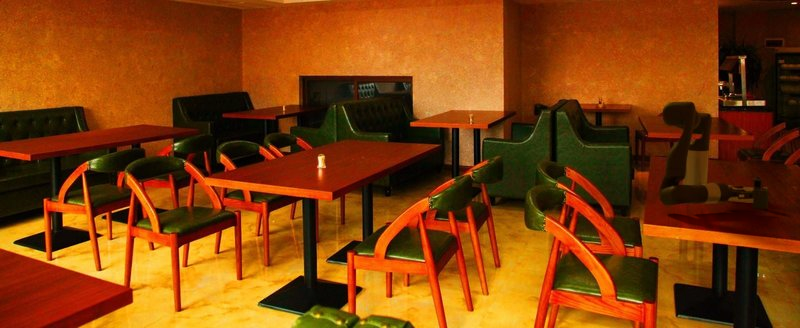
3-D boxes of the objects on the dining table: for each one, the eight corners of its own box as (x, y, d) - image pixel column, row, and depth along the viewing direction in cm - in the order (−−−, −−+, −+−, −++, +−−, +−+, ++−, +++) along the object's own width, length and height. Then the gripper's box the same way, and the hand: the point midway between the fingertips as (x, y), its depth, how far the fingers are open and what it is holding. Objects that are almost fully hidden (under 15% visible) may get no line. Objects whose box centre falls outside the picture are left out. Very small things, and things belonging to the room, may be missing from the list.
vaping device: (752, 206, 239) (754, 175, 237) (768, 208, 236) (770, 177, 234) (751, 207, 237) (753, 176, 235) (766, 209, 234) (769, 178, 232)
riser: (728, 200, 249) (729, 190, 248) (728, 195, 259) (729, 185, 258) (760, 203, 244) (761, 193, 243) (759, 198, 253) (760, 188, 253)
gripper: (727, 186, 224) (766, 184, 227) (700, 179, 237) (737, 177, 241) (725, 207, 225) (764, 204, 228) (699, 198, 239) (736, 196, 242)
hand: (750, 190), depth 234 cm, fingers open, 8 cm apart
